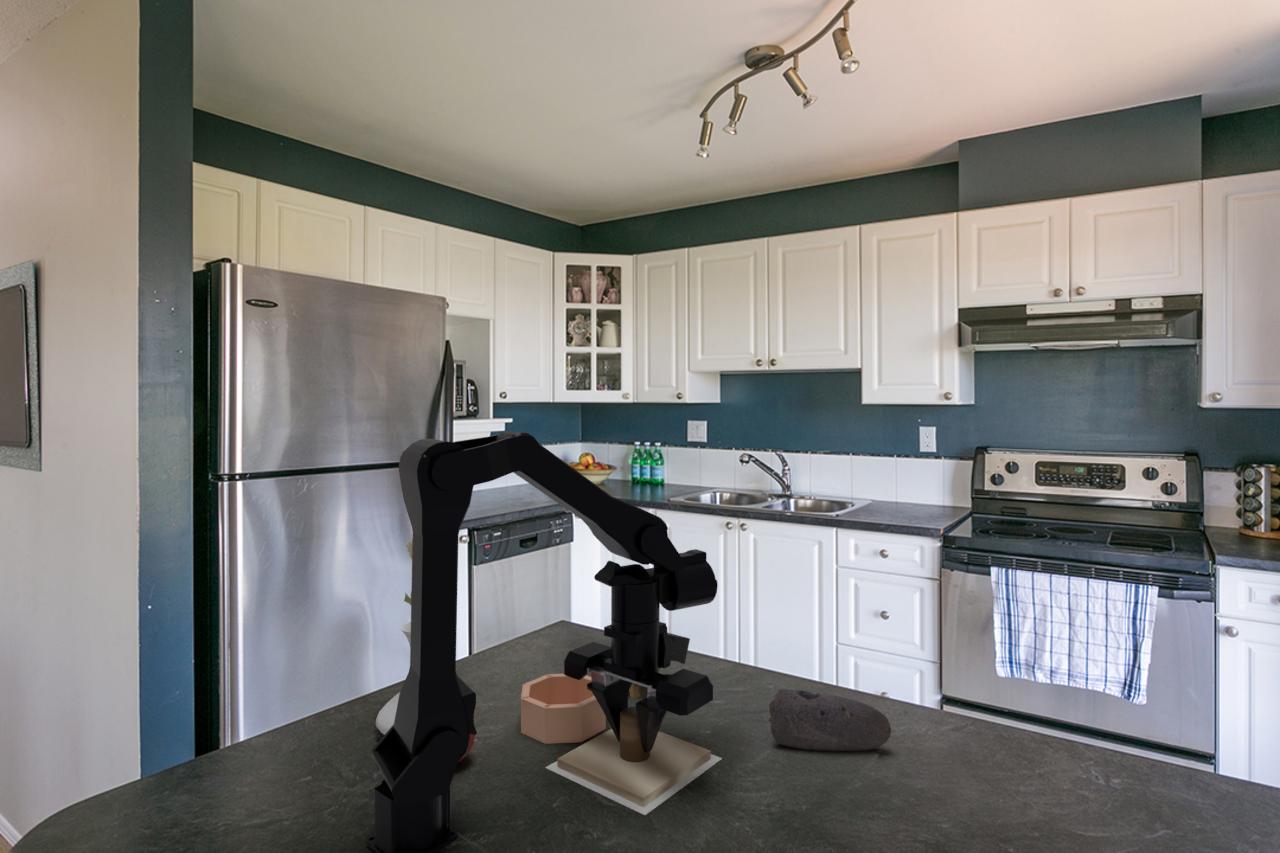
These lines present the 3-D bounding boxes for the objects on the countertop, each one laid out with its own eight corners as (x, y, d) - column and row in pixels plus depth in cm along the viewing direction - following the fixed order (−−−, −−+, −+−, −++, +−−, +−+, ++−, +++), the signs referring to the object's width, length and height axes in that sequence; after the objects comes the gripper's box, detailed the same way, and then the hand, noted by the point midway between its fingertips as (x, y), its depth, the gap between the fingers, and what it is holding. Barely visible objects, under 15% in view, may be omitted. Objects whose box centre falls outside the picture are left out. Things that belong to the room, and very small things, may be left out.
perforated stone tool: (887, 743, 90) (888, 690, 90) (894, 765, 85) (896, 708, 85) (768, 734, 93) (768, 682, 92) (768, 754, 87) (769, 698, 87)
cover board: (643, 807, 75) (643, 751, 75) (557, 766, 83) (557, 716, 83) (710, 758, 85) (711, 710, 85) (628, 727, 93) (628, 682, 93)
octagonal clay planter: (563, 755, 87) (563, 715, 86) (504, 729, 94) (504, 691, 93) (621, 723, 95) (621, 687, 95) (563, 701, 102) (563, 667, 102)
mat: (644, 819, 74) (644, 814, 74) (545, 771, 83) (545, 767, 83) (722, 762, 85) (722, 758, 85) (627, 725, 95) (627, 722, 95)
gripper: (739, 616, 84) (737, 745, 84) (619, 589, 95) (619, 702, 96) (684, 641, 75) (683, 784, 76) (560, 607, 87) (561, 732, 87)
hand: (634, 746), depth 84 cm, fingers closed on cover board, 4 cm apart
